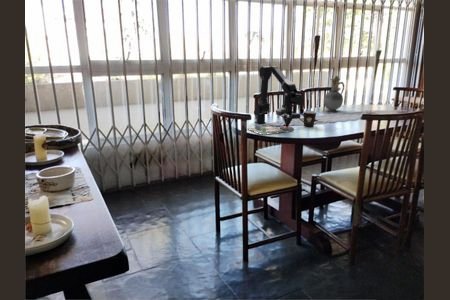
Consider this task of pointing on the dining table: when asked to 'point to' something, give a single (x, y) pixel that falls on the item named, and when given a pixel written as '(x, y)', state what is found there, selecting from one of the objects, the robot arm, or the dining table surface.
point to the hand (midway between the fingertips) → (286, 126)
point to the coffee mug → (308, 118)
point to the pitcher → (334, 96)
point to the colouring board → (267, 130)
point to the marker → (260, 128)
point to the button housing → (287, 129)
